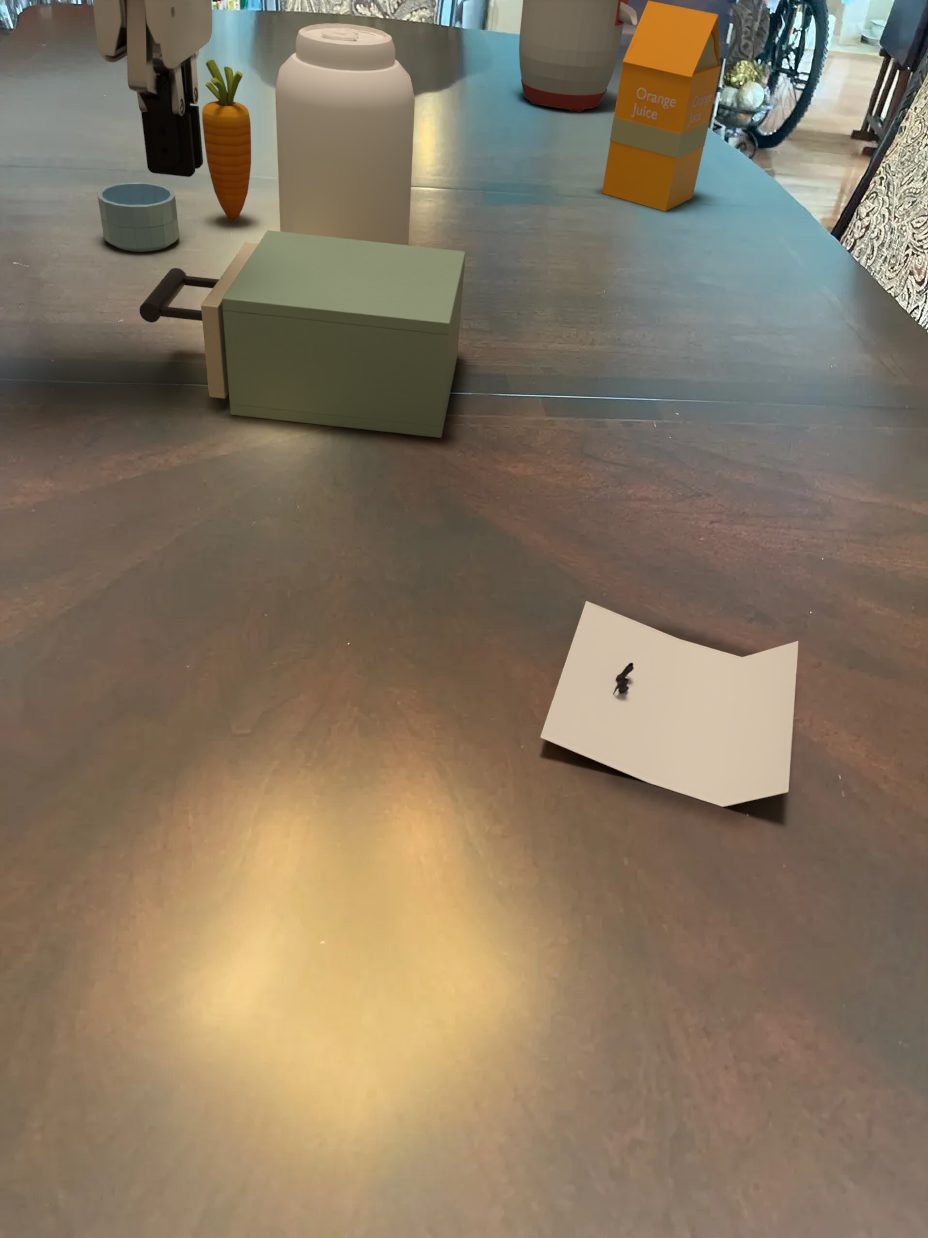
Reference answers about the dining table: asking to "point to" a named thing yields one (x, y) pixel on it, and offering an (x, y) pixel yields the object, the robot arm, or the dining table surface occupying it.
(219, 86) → the carrot
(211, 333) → the drawer
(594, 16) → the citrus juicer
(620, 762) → the folded paper
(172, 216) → the bowl
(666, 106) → the orange juice
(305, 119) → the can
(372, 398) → the grey-green cabinet box
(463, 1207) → the dining table surface
